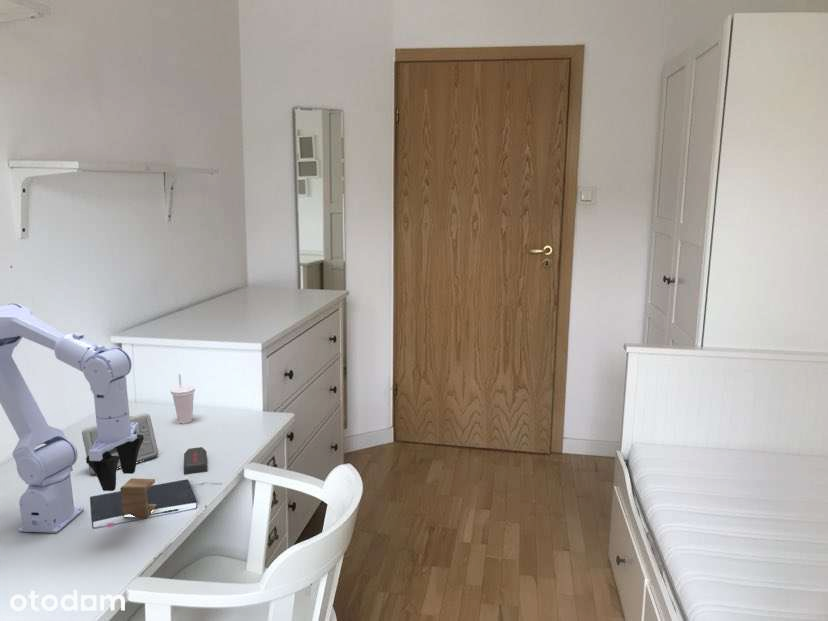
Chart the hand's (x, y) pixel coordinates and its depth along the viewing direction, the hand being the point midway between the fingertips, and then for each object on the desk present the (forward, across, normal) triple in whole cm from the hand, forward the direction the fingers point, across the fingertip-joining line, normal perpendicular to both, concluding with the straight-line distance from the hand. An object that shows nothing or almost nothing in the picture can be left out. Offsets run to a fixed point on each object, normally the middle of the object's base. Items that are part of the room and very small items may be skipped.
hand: (119, 481), depth 126 cm
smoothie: (+10, +59, +13) cm, 61 cm away
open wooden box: (+10, +7, 0) cm, 12 cm away
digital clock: (+10, +30, +16) cm, 35 cm away
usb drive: (+11, +31, -2) cm, 33 cm away
